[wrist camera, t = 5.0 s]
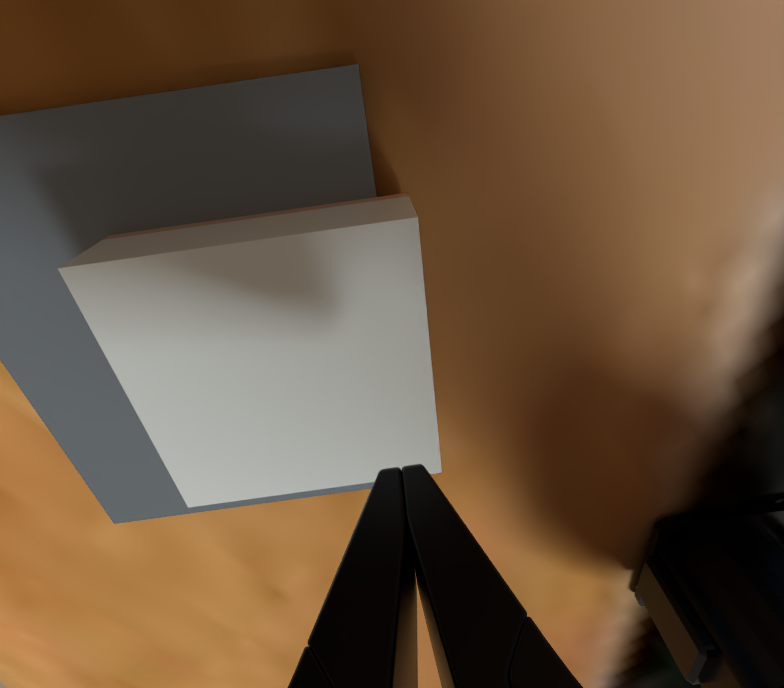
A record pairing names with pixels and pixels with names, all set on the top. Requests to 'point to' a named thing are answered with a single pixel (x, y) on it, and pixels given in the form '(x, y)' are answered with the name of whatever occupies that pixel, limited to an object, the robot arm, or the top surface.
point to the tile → (270, 345)
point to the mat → (144, 212)
